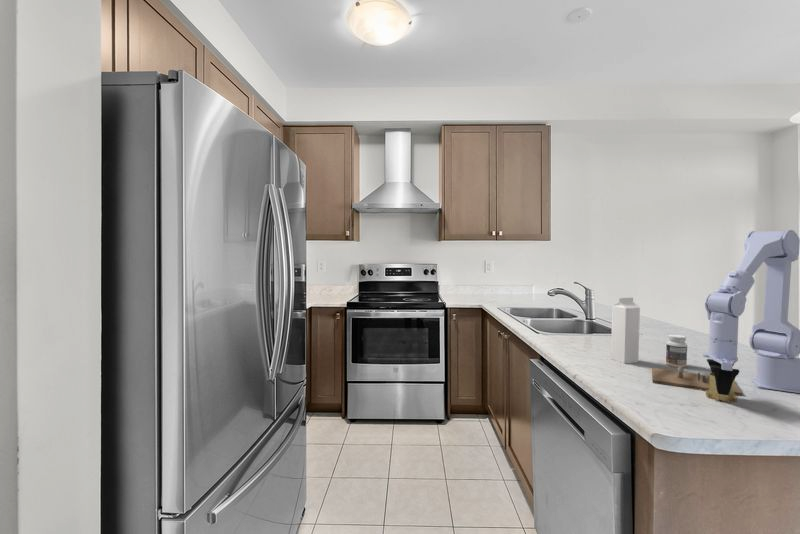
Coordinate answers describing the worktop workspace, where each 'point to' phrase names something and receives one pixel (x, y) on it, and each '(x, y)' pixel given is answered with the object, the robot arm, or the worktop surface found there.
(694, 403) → the worktop surface
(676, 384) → the carrier plate
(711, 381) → the gear
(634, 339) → the milk
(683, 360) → the pill bottle
